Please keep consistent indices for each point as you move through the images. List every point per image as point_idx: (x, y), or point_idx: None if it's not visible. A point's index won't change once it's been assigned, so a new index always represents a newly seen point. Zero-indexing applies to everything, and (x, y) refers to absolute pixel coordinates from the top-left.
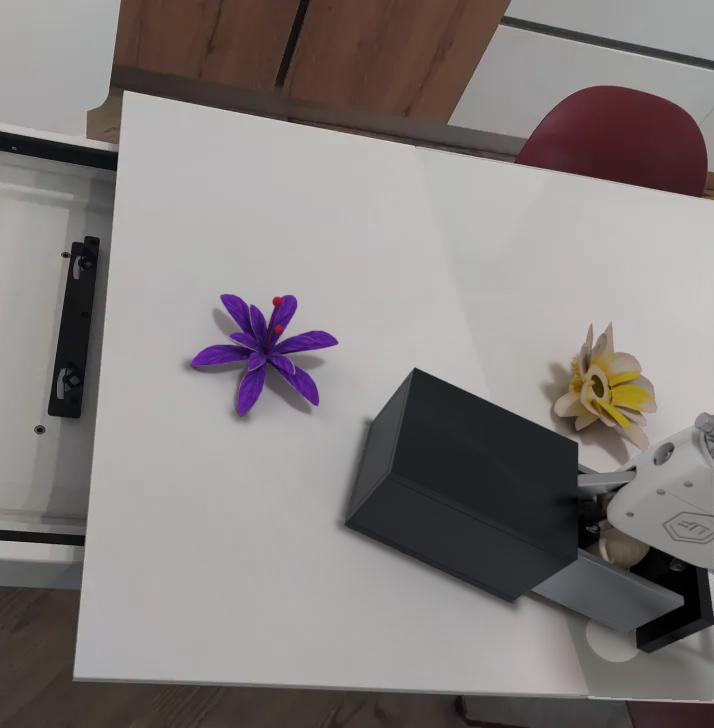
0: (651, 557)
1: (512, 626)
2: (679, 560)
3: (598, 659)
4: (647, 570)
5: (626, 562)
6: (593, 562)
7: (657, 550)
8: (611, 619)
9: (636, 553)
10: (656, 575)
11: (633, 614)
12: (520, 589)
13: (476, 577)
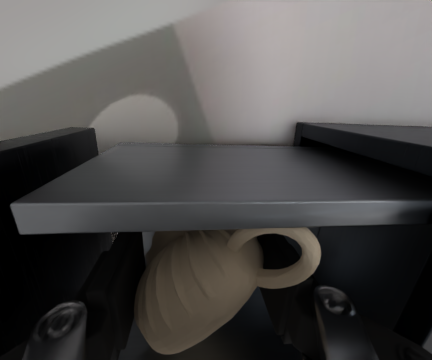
0: (126, 297)
1: (298, 84)
2: (61, 356)
3: (154, 88)
4: (128, 262)
5: (195, 255)
6: (361, 200)
7: (121, 325)
8: (157, 147)
9: (184, 291)
10: (108, 261)
11: (134, 157)
12: (330, 126)
13: (374, 126)
